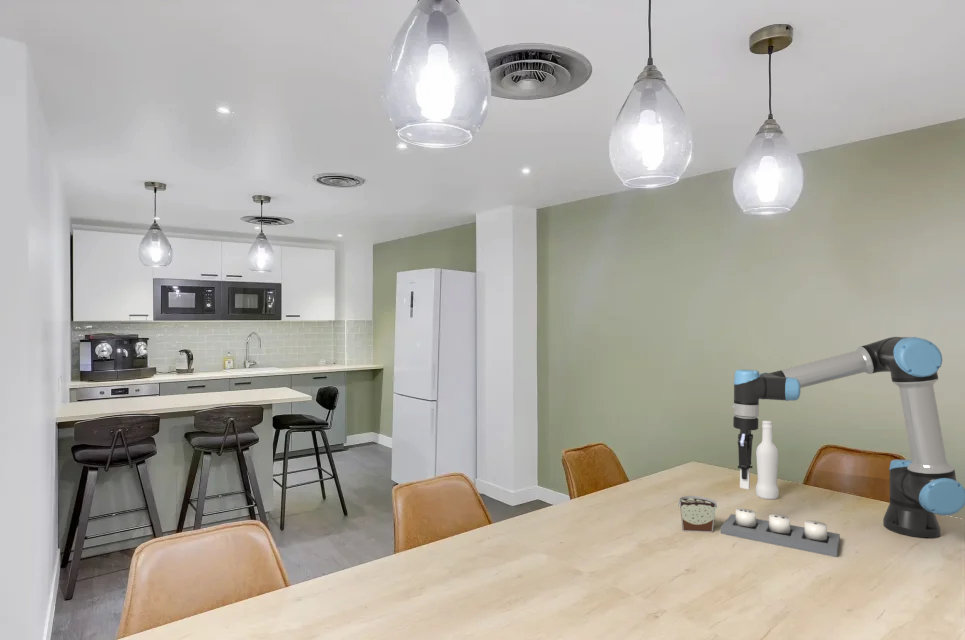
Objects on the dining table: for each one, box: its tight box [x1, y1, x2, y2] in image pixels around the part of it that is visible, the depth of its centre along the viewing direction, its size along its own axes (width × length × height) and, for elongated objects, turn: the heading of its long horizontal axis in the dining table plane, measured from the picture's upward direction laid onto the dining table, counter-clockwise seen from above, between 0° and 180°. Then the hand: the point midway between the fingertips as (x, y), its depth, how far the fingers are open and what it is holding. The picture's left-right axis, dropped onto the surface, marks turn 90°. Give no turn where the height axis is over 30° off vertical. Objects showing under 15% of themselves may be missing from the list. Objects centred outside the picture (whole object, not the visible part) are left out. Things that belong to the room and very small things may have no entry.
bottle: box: [755, 420, 780, 501], centre depth 225 cm, size 8×8×30 cm
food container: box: [677, 495, 718, 533], centre depth 189 cm, size 12×6×10 cm, turn 84°
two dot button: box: [768, 513, 791, 534], centre depth 182 cm, size 6×6×4 cm
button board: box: [720, 513, 841, 558], centre depth 182 cm, size 32×16×2 cm, turn 55°
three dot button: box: [735, 507, 757, 528], centre depth 188 cm, size 6×6×4 cm
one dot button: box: [803, 520, 828, 541], centre depth 176 cm, size 6×6×4 cm
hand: (744, 488), depth 188 cm, fingers closed
